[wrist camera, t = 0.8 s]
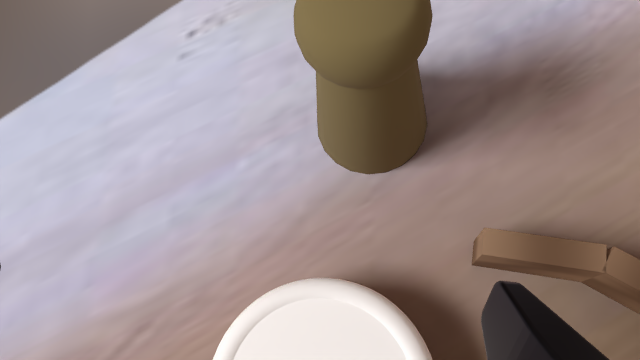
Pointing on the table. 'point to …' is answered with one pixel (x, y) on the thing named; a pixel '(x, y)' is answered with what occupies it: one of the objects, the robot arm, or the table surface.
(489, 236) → the wooden u-shaped frame
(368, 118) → the cork
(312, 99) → the table surface
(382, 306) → the coaster
